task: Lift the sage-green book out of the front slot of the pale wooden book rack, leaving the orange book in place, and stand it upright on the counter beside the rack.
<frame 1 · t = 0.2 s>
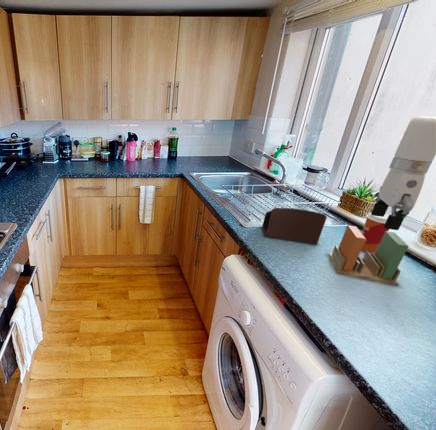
hand: (383, 221, 84), 23 cm above the worktop, tool pointing down, fingers open, 9 cm apart
orange book: (343, 263, 104), point 1 cm above the worktop, touching book rack
book rack: (360, 269, 103), on the worktop
green book: (380, 270, 100), point 1 cm above the worktop, touching book rack
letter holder: (287, 235, 125), on the worktop
coffee cup: (366, 249, 115), on the worktop
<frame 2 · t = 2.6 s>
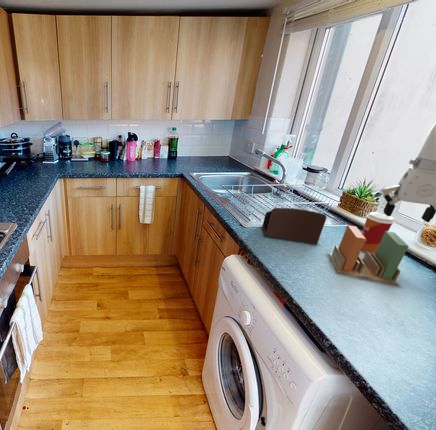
hand: (405, 217, 92), 22 cm above the worktop, tool pointing down, fingers open, 9 cm apart
nothing on the worktop moved.
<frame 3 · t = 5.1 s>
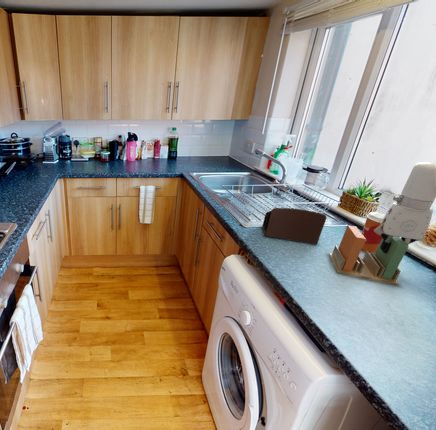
hand: (389, 252, 97), 9 cm above the worktop, tool pointing down, fingers closed on green book, 2 cm apart
green book: (380, 270, 100), point 1 cm above the worktop, touching book rack, gripper
everything else where it was.
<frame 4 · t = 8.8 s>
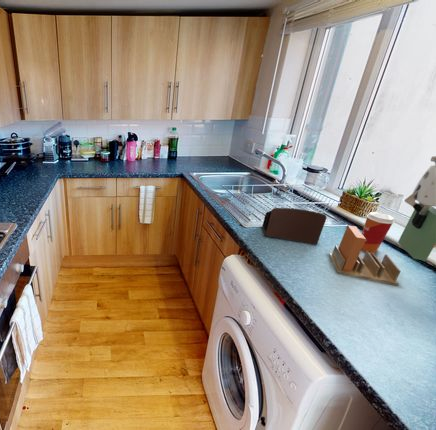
hand: (423, 227, 80), 24 cm above the worktop, tool pointing down, fingers closed on green book, 2 cm apart
green book: (411, 251, 83), point 16 cm above the worktop, touching gripper
everything else where it was.
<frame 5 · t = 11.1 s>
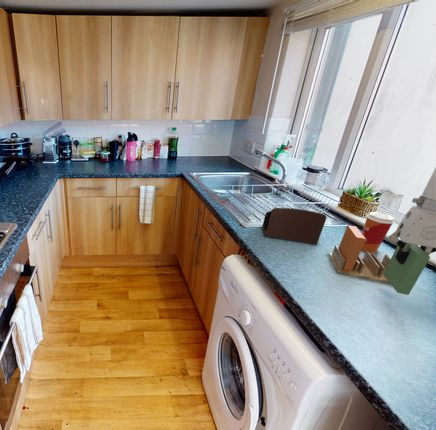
hand: (406, 262, 84), 13 cm above the worktop, tool pointing down, fingers closed on green book, 2 cm apart
green book: (395, 283, 87), point 5 cm above the worktop, touching gripper
everything else where it was.
when the fingers open (8 cm above the worktop, at t = 12.6 s): green book stays where it is, on the worktop.
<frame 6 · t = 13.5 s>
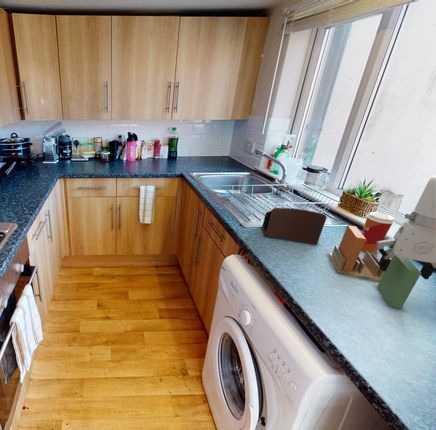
hand: (402, 272, 85), 9 cm above the worktop, tool pointing down, fingers open, 9 cm apart
green book: (388, 297, 89), on the worktop
everything else where it was.
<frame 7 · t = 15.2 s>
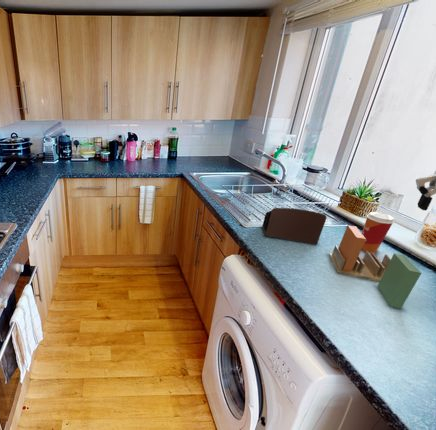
nothing on the worktop moved.
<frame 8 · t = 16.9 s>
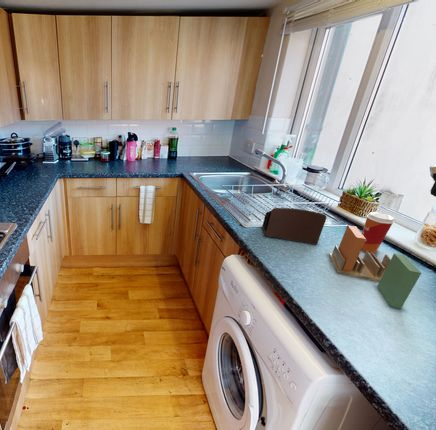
nothing on the worktop moved.
at the end: green book inside the target area (0.1 cm from its centre), on the worktop; green book tilted 0°; orange book moved 0.0 cm from its start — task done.
